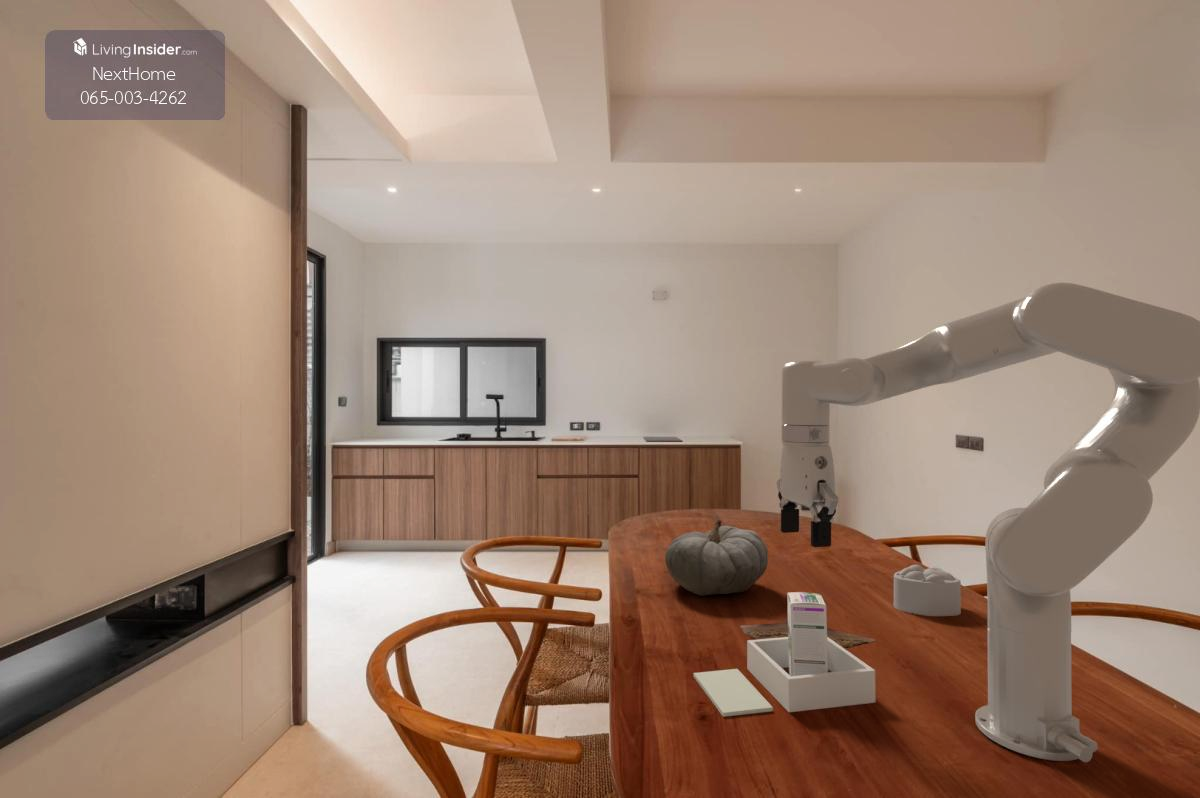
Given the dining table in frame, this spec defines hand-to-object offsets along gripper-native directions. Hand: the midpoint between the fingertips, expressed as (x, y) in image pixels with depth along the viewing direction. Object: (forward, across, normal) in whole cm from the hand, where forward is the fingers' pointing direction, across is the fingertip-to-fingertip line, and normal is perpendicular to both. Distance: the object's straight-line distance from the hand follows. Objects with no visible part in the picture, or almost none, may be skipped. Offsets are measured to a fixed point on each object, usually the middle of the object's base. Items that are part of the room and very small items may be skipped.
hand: (804, 538), depth 98 cm
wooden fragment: (+25, +18, -11) cm, 33 cm away
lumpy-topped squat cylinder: (+24, +27, -45) cm, 58 cm away
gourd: (+25, +49, -4) cm, 55 cm away
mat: (+24, 0, +13) cm, 28 cm away
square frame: (+24, 0, 0) cm, 24 cm away
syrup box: (+24, 0, 0) cm, 24 cm away
